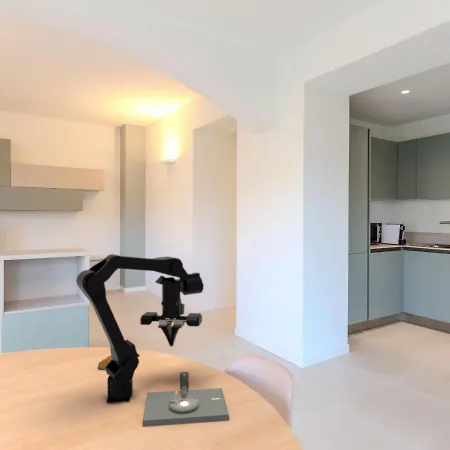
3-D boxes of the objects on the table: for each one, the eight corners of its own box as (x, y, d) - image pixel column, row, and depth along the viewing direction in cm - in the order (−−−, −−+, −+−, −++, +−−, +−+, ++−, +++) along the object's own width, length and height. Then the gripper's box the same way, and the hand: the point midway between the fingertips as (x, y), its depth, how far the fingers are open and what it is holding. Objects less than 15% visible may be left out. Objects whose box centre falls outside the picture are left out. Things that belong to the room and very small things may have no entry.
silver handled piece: (199, 411, 102) (198, 394, 102) (168, 413, 102) (168, 395, 102) (197, 386, 118) (197, 371, 118) (170, 388, 117) (170, 372, 117)
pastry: (104, 372, 134) (104, 361, 134) (94, 367, 139) (93, 357, 139) (127, 364, 141) (127, 354, 141) (117, 360, 146) (117, 350, 146)
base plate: (142, 426, 99) (142, 419, 99) (147, 397, 115) (147, 391, 115) (229, 420, 102) (229, 413, 102) (221, 392, 117) (221, 387, 117)
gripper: (205, 292, 131) (205, 339, 131) (150, 291, 133) (151, 337, 133) (198, 299, 119) (198, 350, 120) (139, 298, 122) (139, 348, 122)
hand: (171, 346), depth 124 cm, fingers closed
